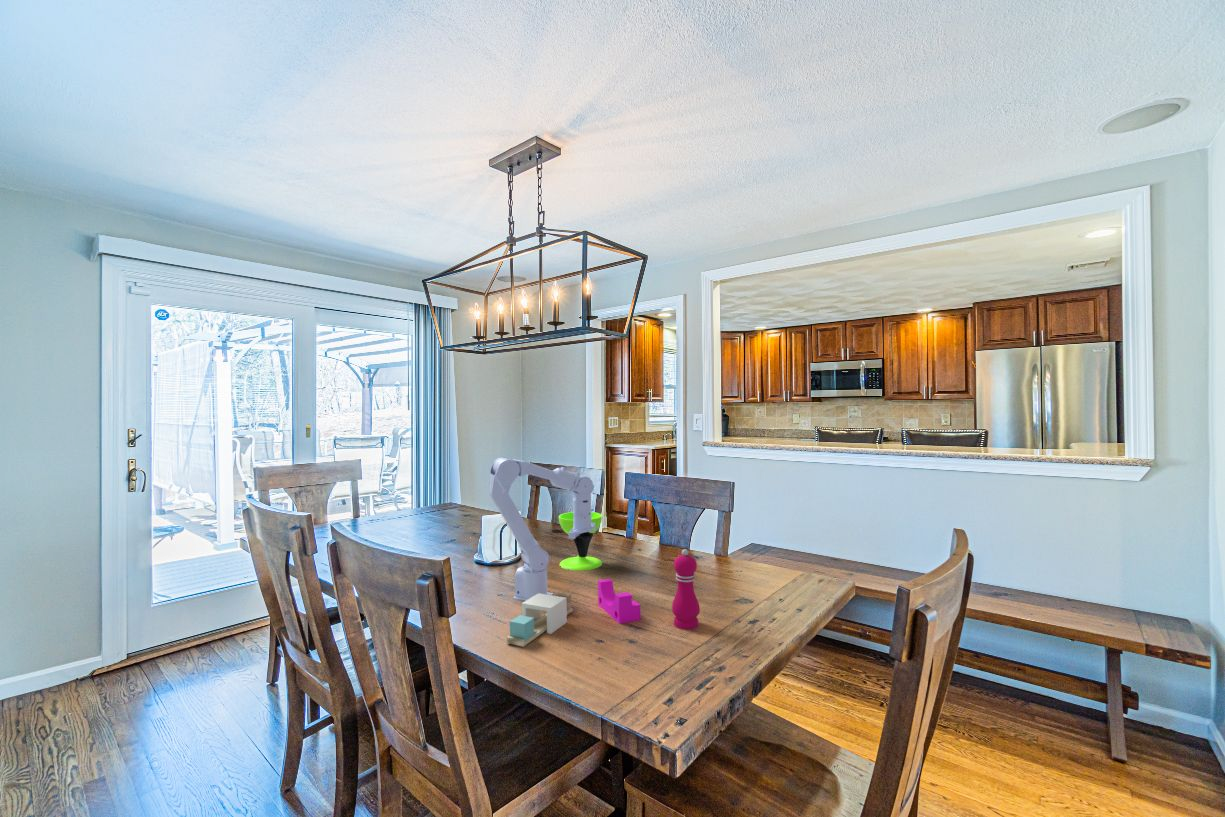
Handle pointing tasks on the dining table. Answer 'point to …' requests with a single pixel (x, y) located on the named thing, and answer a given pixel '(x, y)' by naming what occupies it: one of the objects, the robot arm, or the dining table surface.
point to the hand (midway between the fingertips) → (582, 556)
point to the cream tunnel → (548, 603)
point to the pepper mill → (685, 593)
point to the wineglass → (578, 562)
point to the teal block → (522, 627)
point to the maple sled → (540, 624)
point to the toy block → (617, 603)
